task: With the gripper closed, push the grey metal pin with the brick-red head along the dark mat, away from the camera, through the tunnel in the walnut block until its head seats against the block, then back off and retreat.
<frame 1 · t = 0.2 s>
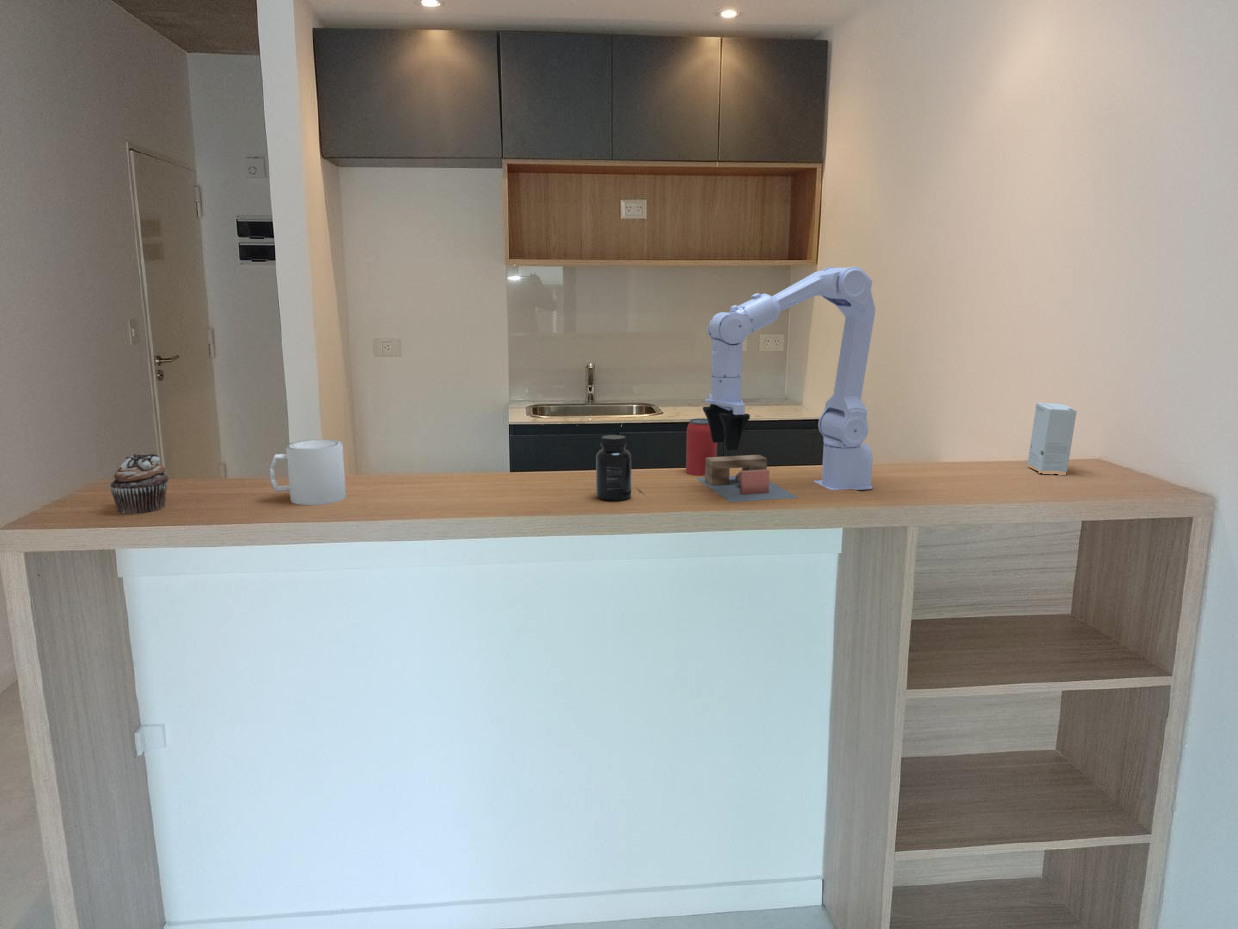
hand: (724, 445, 168), 10 cm above the countertop, tool pointing down, fingers open, 7 cm apart
mat: (744, 490, 175), on the countertop
mug: (312, 499, 168), on the countertop
cupcake: (142, 509, 161), on the countertop
block: (735, 481, 179), resting on mat
supplement bottle: (613, 498, 169), on the countertop
beer can: (700, 475, 188), on the countertop
pin: (752, 492, 171), point 1 cm above the countertop, touching mat
skincare box: (1047, 472, 192), on the countertop
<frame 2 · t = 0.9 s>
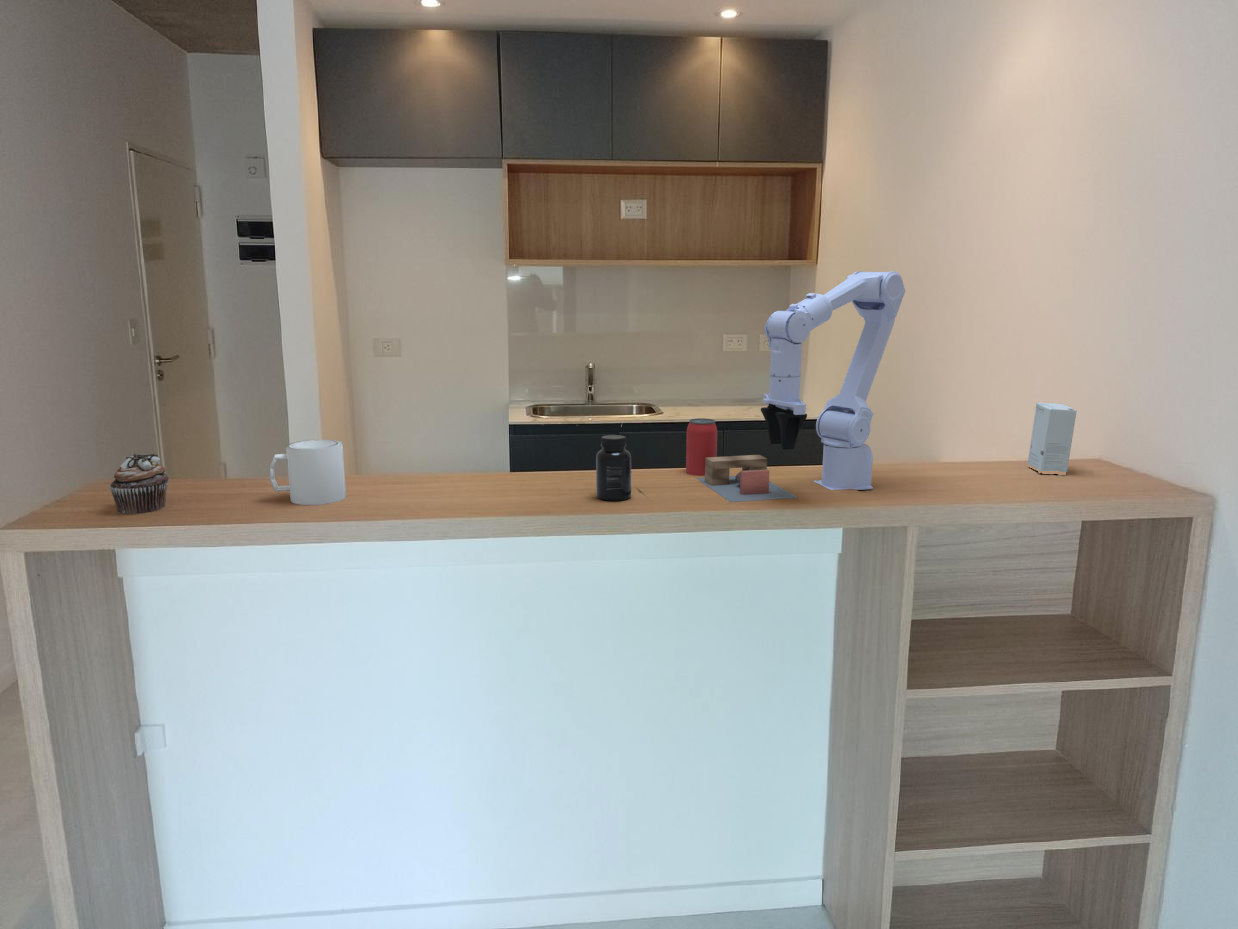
hand: (781, 446, 166), 10 cm above the countertop, tool pointing down, fingers open, 5 cm apart
nothing on the countertop moved.
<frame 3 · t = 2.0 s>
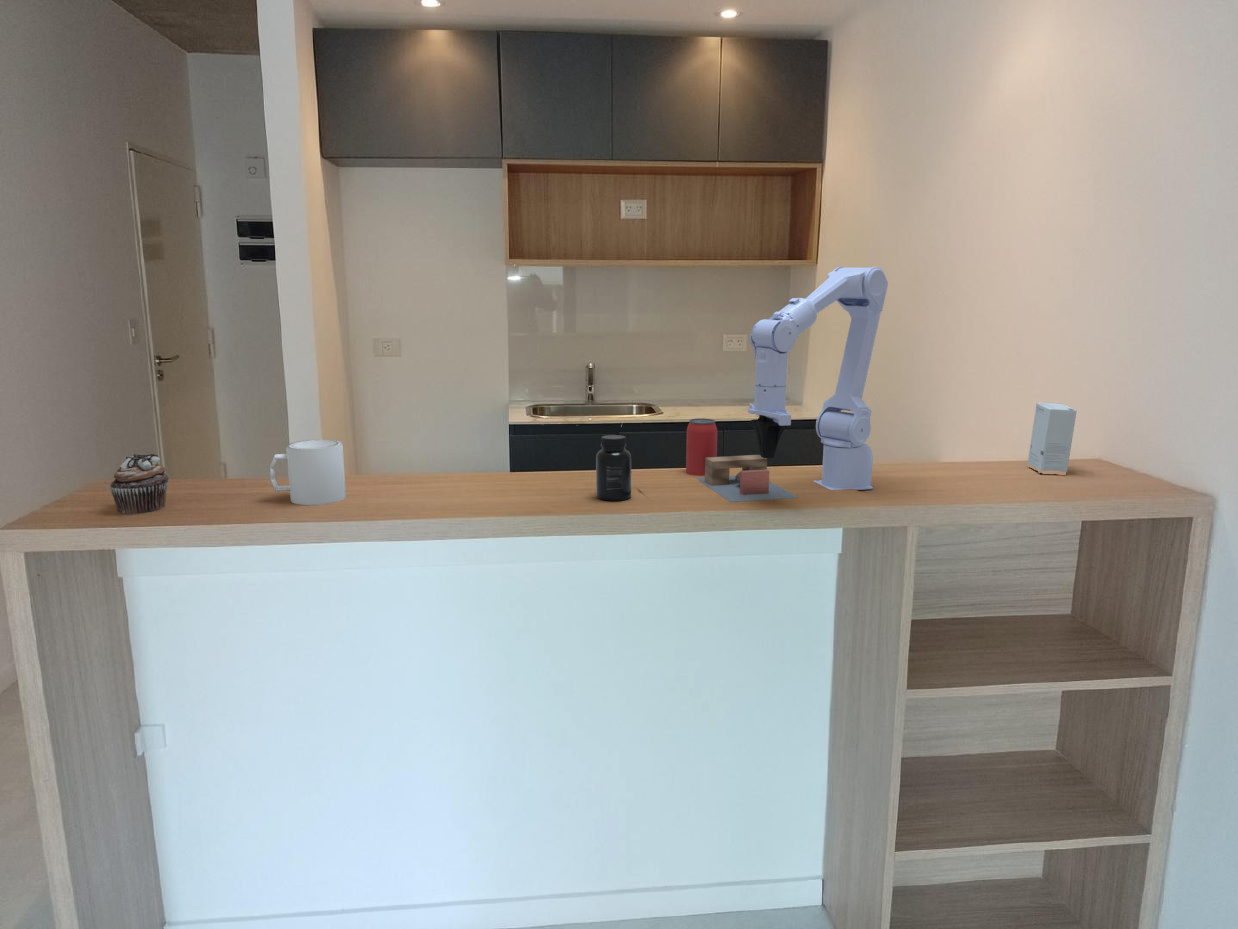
hand: (767, 457, 163), 9 cm above the countertop, tool pointing down, fingers closed
nothing on the countertop moved.
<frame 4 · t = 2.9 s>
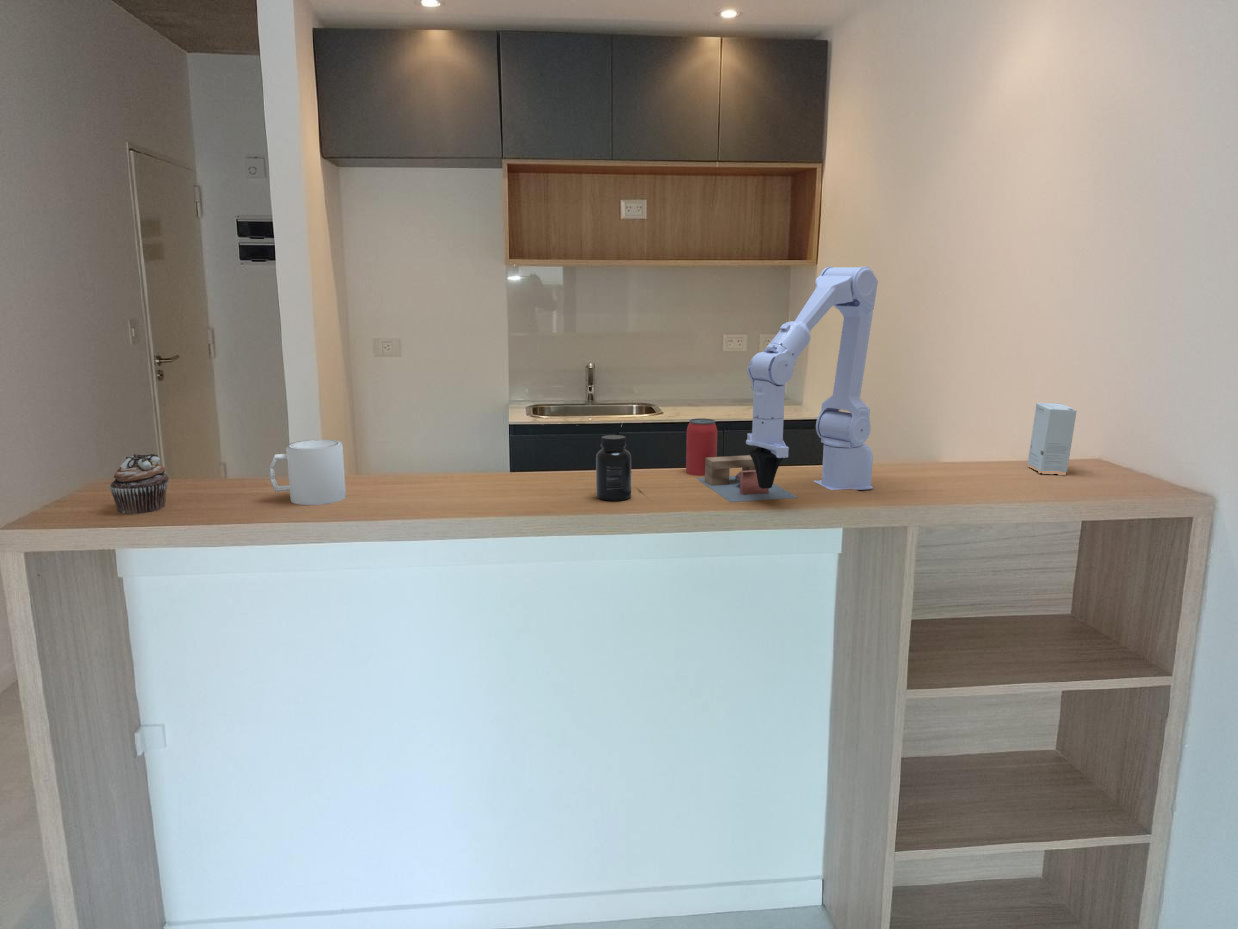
hand: (765, 487, 165), 3 cm above the countertop, tool pointing down, fingers closed
nothing on the countertop moved.
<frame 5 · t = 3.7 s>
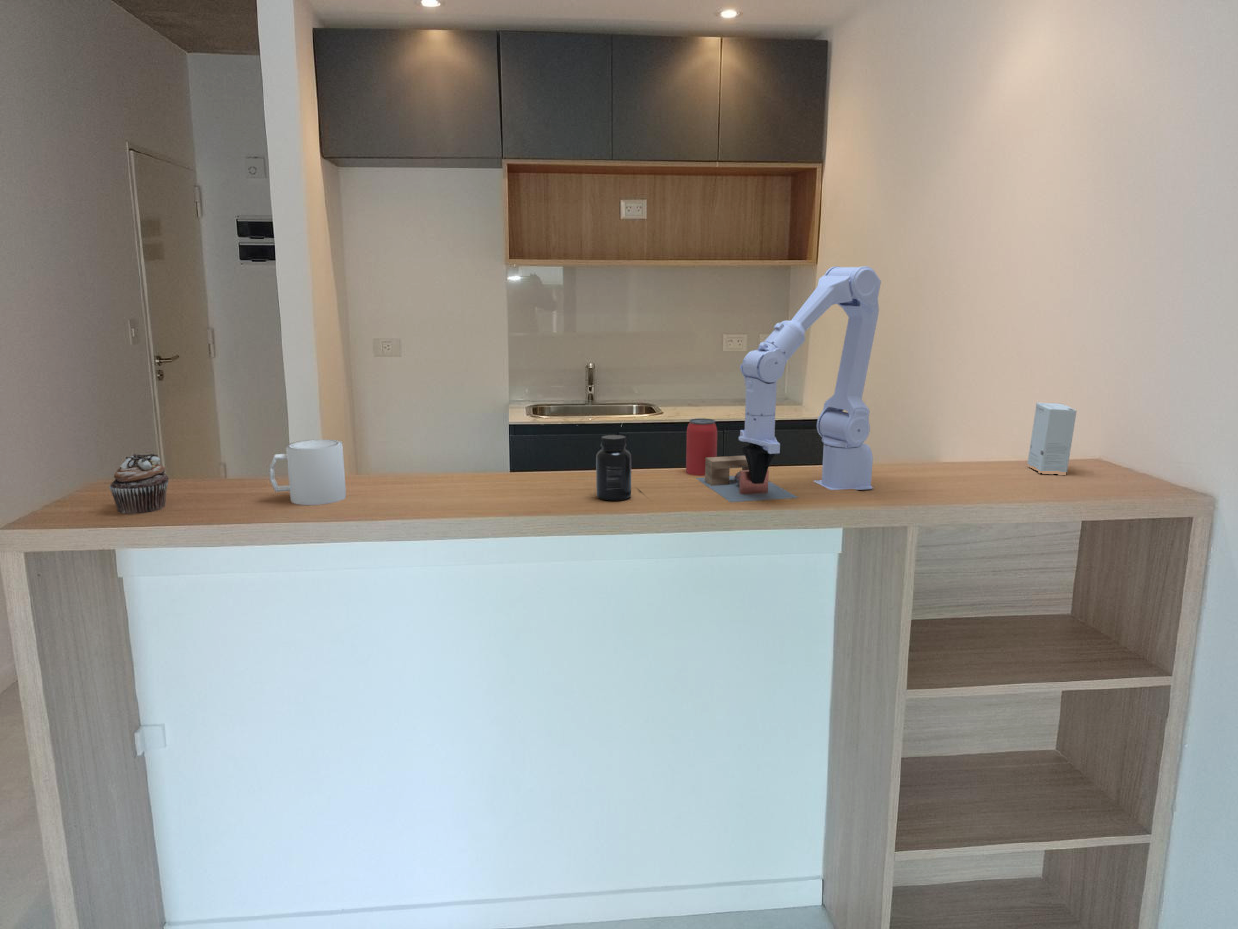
hand: (757, 483, 168), 3 cm above the countertop, tool pointing down, fingers closed
pin: (752, 491, 171), point 1 cm above the countertop, touching gripper, mat
everything else where it was.
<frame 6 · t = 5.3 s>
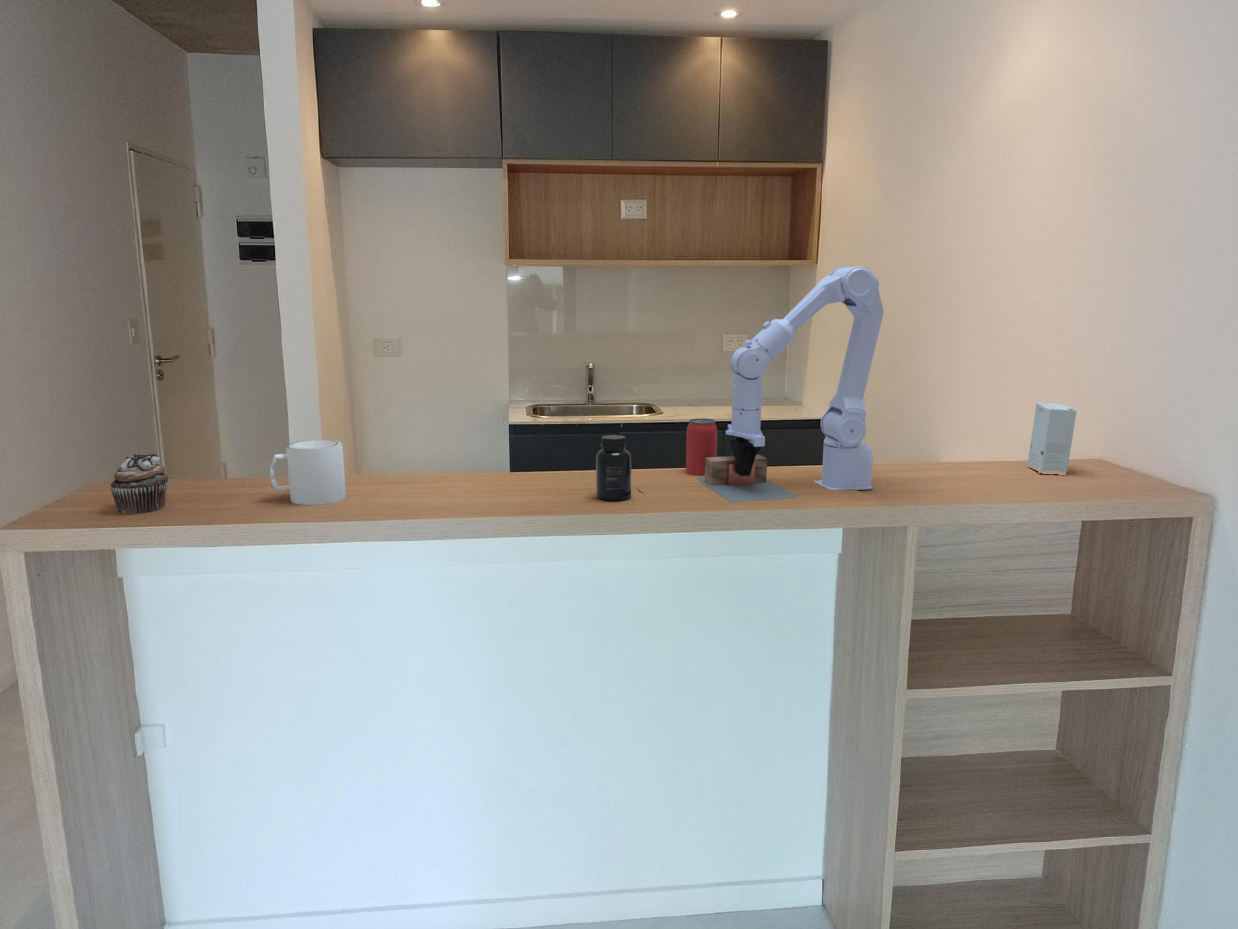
hand: (744, 475, 175), 3 cm above the countertop, tool pointing down, fingers closed
pin: (739, 484, 177), point 1 cm above the countertop, touching gripper, mat
everything else where it was.
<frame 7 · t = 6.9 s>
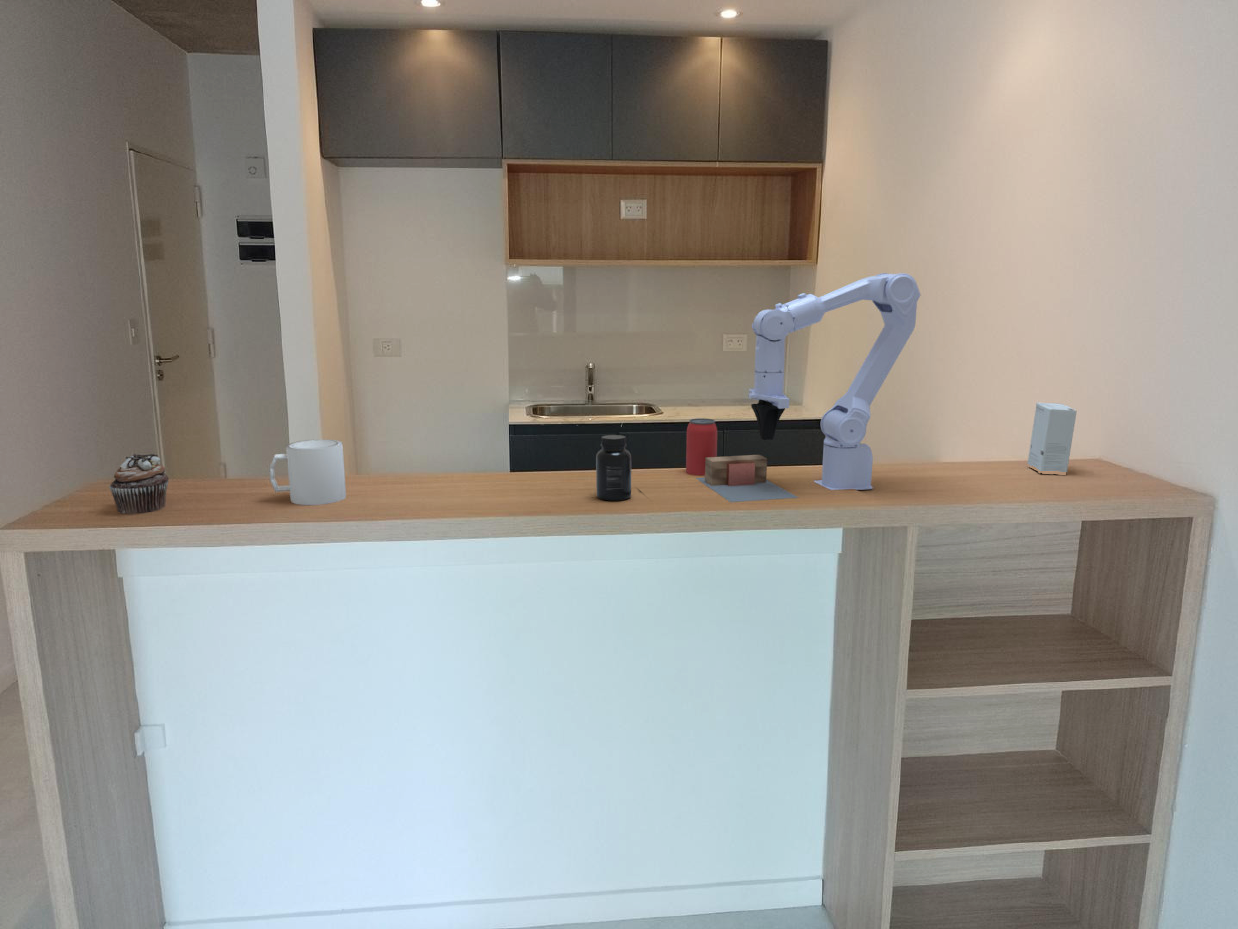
hand: (767, 439, 174), 10 cm above the countertop, tool pointing down, fingers closed
pin: (739, 484, 177), point 1 cm above the countertop, touching mat
everything else where it was.
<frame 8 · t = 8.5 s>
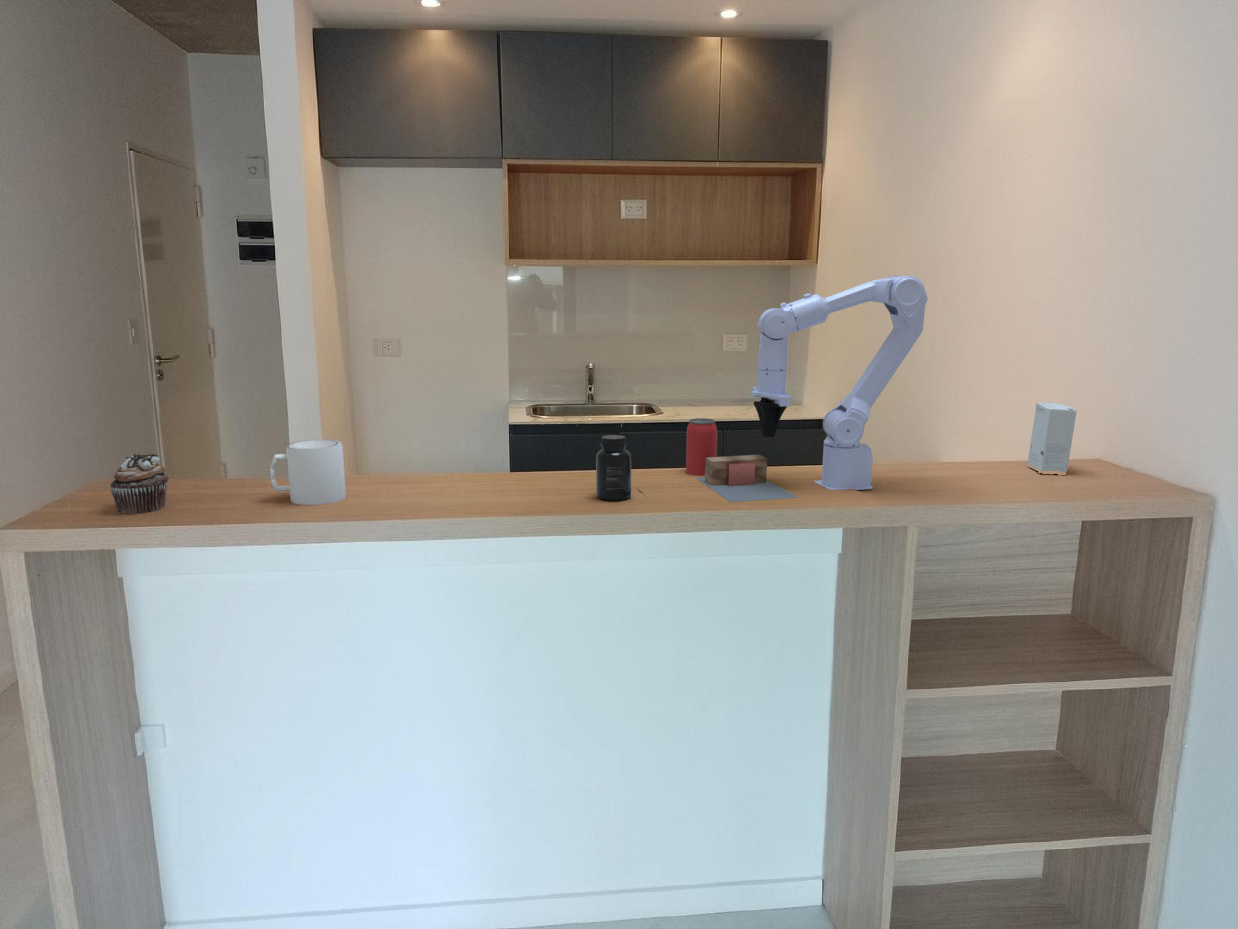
hand: (768, 436, 176), 10 cm above the countertop, tool pointing down, fingers closed
nothing on the countertop moved.
at the end: pin 0.9 cm from the target spot on the block, point 0.0 cm above the block's base; pin tilted 0°; pin moved 7.1 cm from its start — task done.
